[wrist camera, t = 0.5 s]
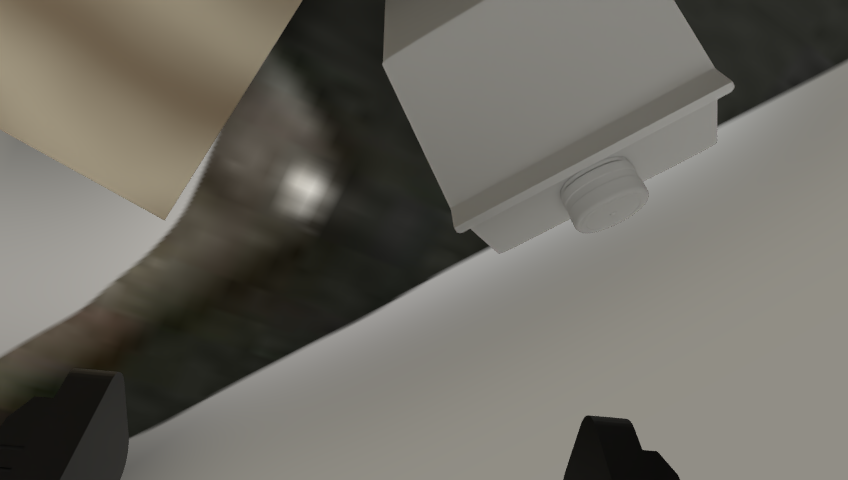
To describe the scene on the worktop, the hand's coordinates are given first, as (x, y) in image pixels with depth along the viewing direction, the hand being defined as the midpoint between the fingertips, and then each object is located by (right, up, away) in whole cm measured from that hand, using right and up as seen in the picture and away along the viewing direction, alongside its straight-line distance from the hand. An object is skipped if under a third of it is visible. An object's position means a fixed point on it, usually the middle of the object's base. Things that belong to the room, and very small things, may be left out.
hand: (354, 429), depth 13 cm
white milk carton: (+4, +14, +21) cm, 26 cm away
